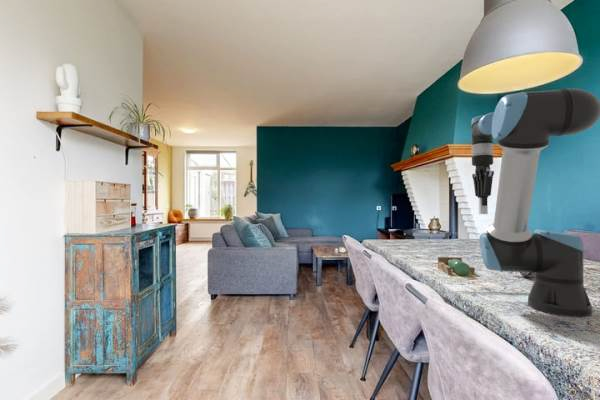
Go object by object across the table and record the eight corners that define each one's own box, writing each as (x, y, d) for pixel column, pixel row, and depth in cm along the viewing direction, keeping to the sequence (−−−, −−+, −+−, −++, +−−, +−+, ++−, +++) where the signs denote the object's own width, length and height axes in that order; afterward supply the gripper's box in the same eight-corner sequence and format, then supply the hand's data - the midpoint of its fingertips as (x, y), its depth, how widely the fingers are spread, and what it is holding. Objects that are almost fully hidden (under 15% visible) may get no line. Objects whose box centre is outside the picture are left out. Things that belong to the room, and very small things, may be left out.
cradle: (482, 281, 133) (482, 266, 133) (453, 281, 134) (453, 266, 134) (461, 270, 155) (461, 257, 155) (437, 270, 156) (436, 256, 156)
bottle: (470, 263, 138) (456, 257, 153) (456, 263, 138) (444, 257, 153) (470, 276, 138) (457, 268, 153) (456, 276, 138) (444, 268, 153)
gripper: (500, 152, 127) (501, 214, 126) (483, 157, 140) (484, 213, 139) (480, 152, 127) (481, 214, 127) (465, 157, 140) (466, 213, 140)
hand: (483, 214), depth 133 cm, fingers closed
